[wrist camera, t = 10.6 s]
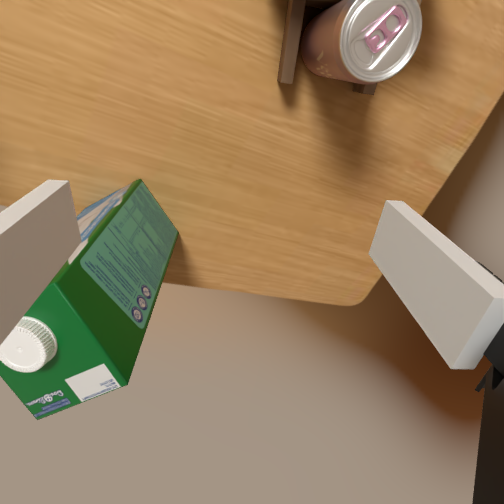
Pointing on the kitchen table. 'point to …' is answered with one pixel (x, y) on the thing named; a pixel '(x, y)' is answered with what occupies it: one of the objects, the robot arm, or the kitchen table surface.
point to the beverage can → (362, 39)
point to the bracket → (293, 36)
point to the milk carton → (92, 306)
